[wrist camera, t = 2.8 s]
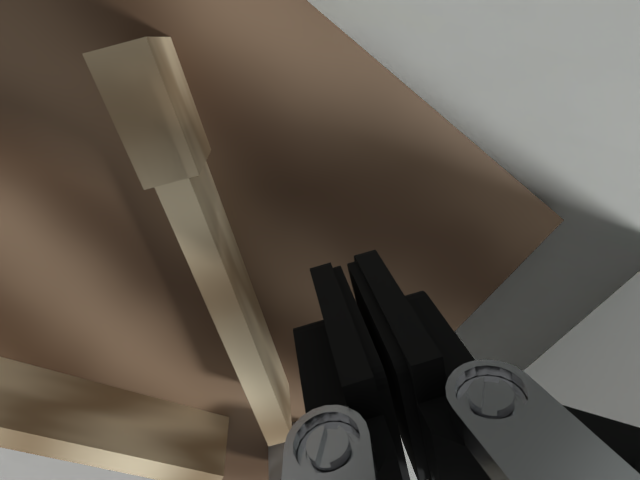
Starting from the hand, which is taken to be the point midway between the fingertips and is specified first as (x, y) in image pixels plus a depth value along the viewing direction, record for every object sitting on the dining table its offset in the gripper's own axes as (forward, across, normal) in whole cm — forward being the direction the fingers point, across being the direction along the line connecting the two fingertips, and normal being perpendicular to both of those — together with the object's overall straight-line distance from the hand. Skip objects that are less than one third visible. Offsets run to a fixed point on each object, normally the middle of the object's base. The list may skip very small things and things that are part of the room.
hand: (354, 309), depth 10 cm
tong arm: (+6, +4, 0) cm, 7 cm away
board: (+7, +5, +1) cm, 9 cm away
